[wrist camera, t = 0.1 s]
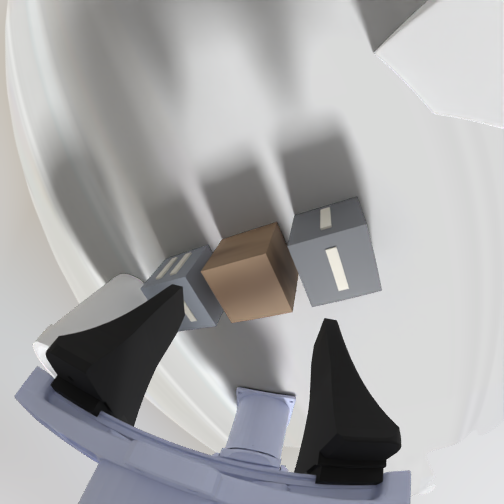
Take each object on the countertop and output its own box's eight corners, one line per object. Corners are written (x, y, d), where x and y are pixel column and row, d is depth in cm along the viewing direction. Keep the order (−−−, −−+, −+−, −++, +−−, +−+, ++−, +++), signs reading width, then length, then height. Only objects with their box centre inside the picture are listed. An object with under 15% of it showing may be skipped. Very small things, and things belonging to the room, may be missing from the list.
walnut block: (298, 273, 24) (292, 311, 20) (246, 285, 26) (231, 323, 21) (277, 221, 22) (265, 253, 18) (222, 238, 24) (200, 271, 20)
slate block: (232, 289, 26) (215, 326, 22) (191, 298, 28) (170, 332, 24) (207, 242, 24) (183, 275, 20) (165, 257, 26) (138, 288, 22)
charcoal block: (372, 253, 21) (382, 291, 17) (314, 268, 23) (311, 307, 19) (356, 194, 19) (366, 222, 15) (293, 213, 21) (286, 244, 17)
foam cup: (121, 322, 34) (68, 394, 23) (91, 262, 29) (19, 333, 18) (180, 329, 31) (129, 421, 20) (152, 260, 27) (72, 355, 16)
